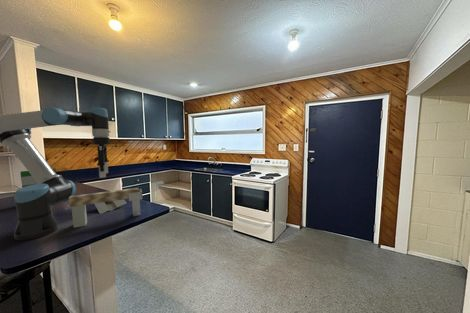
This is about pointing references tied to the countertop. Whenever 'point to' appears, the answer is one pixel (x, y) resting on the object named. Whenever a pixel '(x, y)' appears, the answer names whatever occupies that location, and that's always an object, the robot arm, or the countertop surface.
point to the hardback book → (28, 178)
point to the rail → (100, 197)
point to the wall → (109, 205)
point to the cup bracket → (136, 201)
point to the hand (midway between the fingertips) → (104, 175)
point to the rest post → (79, 216)
